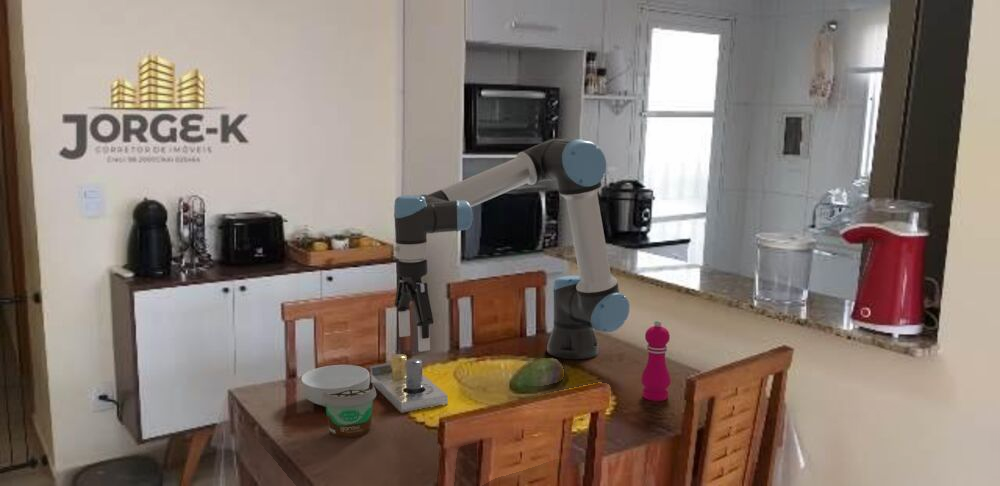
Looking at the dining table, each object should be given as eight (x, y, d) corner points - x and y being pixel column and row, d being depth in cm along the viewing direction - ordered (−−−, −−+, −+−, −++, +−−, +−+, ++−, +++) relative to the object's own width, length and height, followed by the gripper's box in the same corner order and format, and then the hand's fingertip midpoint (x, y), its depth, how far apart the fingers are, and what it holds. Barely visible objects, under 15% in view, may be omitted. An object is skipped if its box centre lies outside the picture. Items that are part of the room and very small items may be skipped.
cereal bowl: (298, 395, 203) (297, 368, 202) (363, 387, 209) (362, 361, 208) (306, 419, 188) (305, 390, 187) (376, 410, 193) (375, 382, 192)
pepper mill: (651, 389, 207) (654, 315, 203) (675, 396, 202) (678, 320, 198) (635, 396, 202) (637, 320, 198) (659, 404, 197) (661, 326, 193)
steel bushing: (419, 395, 203) (418, 357, 201) (424, 400, 199) (424, 362, 198) (404, 398, 201) (403, 360, 199) (409, 403, 198) (409, 364, 196)
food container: (328, 444, 174) (326, 400, 172) (322, 433, 179) (321, 391, 178) (383, 435, 179) (382, 392, 177) (376, 425, 184) (375, 383, 183)
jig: (413, 375, 218) (412, 347, 216) (447, 404, 197) (447, 373, 195) (370, 382, 213) (369, 353, 211) (401, 412, 191) (400, 381, 190)
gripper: (380, 252, 203) (383, 332, 207) (415, 270, 181) (418, 359, 185) (408, 249, 207) (410, 328, 210) (445, 266, 185) (447, 354, 189)
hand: (414, 343), depth 198 cm, fingers open, 13 cm apart
